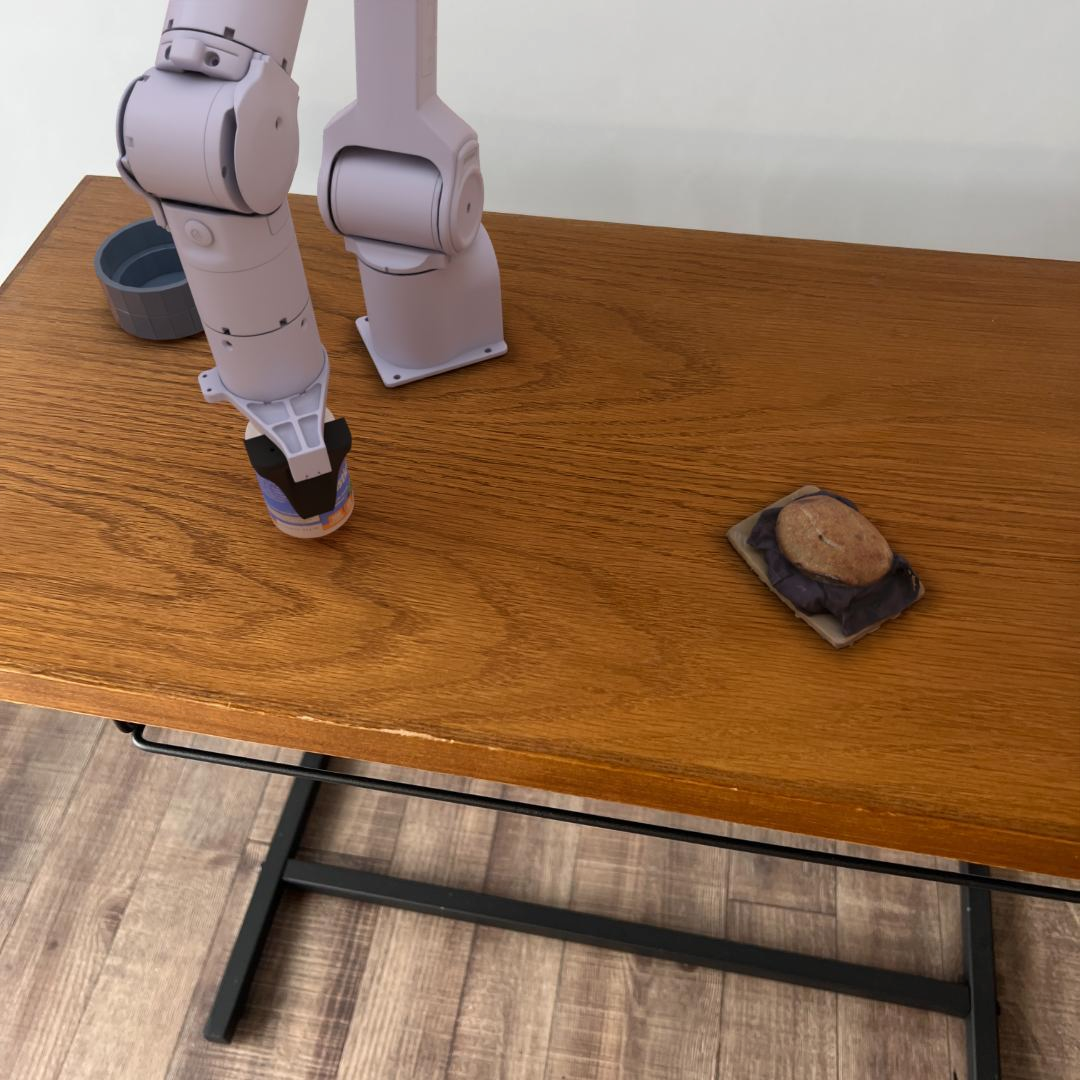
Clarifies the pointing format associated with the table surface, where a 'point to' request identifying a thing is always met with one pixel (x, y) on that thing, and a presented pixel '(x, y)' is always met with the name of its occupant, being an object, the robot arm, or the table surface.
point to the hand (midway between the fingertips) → (304, 476)
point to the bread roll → (827, 564)
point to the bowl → (146, 282)
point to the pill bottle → (287, 515)
